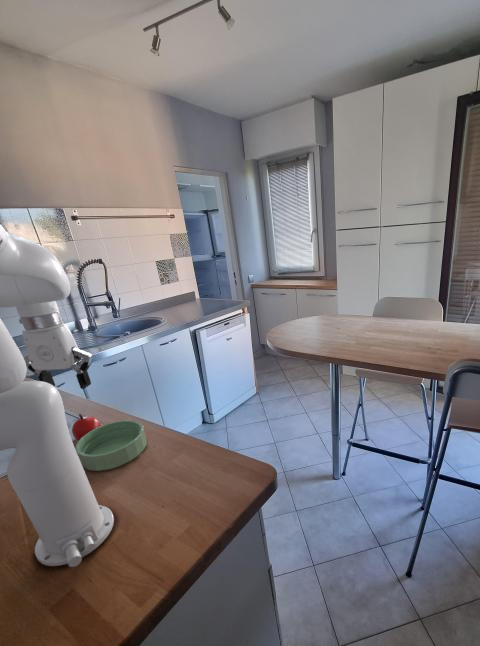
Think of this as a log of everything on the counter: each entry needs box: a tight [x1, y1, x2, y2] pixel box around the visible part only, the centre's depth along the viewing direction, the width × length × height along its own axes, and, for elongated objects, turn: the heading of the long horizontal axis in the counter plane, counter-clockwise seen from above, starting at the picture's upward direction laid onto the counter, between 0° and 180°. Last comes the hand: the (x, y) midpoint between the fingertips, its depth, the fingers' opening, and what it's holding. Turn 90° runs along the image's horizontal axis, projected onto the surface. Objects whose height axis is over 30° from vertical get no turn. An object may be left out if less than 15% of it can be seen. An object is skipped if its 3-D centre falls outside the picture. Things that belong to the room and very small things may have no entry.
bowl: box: [75, 419, 148, 472], centre depth 85 cm, size 15×15×5 cm
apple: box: [71, 413, 102, 441], centre depth 91 cm, size 7×7×8 cm
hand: (68, 387), depth 84 cm, fingers open, 9 cm apart
